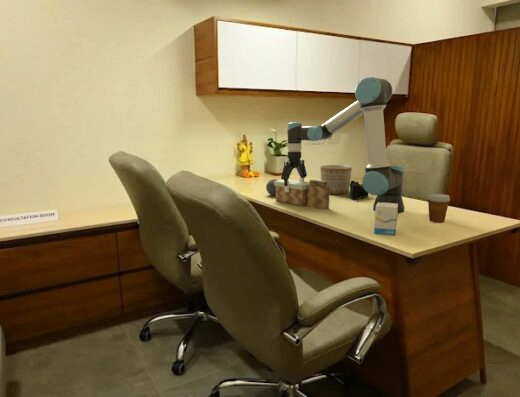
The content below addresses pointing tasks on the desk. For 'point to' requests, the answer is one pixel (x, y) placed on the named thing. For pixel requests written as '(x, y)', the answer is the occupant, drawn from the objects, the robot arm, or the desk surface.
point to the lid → (293, 184)
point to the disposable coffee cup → (438, 207)
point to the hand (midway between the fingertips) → (294, 190)
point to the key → (318, 183)
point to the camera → (357, 191)
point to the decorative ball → (271, 187)
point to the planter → (336, 178)
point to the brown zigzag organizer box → (305, 196)
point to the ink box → (385, 218)
